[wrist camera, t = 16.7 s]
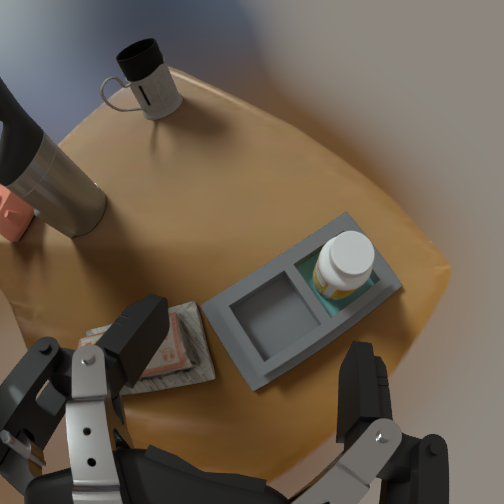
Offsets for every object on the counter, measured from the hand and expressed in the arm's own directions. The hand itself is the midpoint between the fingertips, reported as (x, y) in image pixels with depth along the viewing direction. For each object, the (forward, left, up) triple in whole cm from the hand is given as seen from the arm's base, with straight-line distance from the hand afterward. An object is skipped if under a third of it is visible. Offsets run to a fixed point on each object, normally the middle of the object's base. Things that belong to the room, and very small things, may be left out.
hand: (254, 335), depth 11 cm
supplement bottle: (+10, +2, -20) cm, 22 cm away
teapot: (-33, +45, -21) cm, 60 cm away
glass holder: (+3, +46, -21) cm, 51 cm away
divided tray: (+6, +2, -21) cm, 22 cm away
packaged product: (-15, +7, -22) cm, 27 cm away
